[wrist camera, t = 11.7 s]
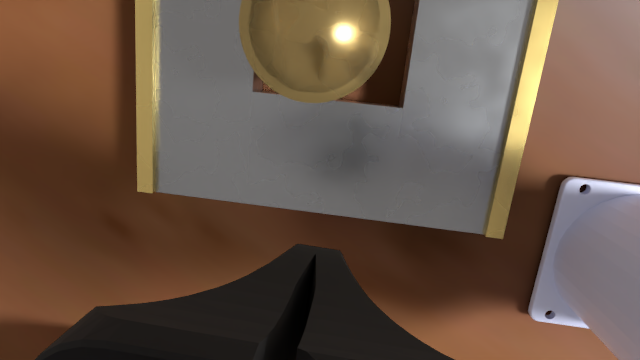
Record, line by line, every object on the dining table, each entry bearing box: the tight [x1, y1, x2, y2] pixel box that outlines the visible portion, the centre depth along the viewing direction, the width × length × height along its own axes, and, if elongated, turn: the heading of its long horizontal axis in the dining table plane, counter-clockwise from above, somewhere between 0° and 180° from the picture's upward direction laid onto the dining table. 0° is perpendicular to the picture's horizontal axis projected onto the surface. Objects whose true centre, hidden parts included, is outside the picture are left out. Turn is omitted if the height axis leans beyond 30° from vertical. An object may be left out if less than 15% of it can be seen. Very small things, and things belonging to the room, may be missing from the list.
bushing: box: [239, 0, 391, 103], centre depth 16 cm, size 5×5×8 cm
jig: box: [135, 0, 558, 239], centre depth 18 cm, size 18×18×2 cm
